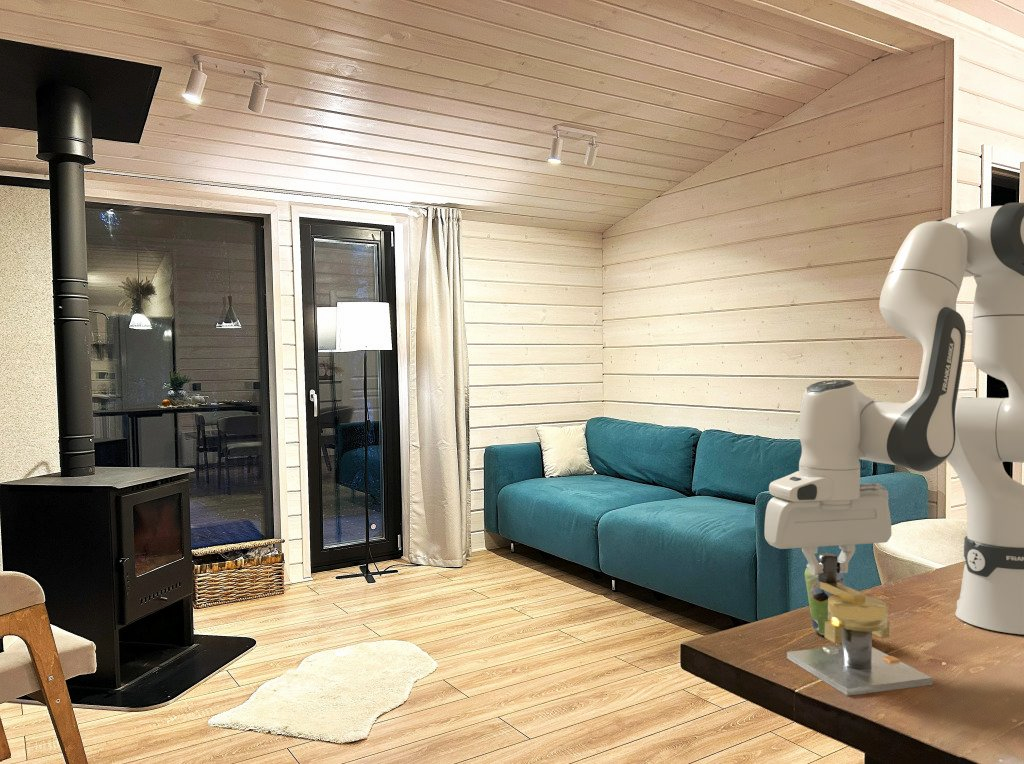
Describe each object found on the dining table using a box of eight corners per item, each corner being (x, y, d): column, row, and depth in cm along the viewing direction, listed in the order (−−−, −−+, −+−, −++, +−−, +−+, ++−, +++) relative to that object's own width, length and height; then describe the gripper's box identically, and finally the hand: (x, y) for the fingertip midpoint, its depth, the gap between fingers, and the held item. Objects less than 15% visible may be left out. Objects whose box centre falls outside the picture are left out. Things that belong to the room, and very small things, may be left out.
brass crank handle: (846, 616, 126) (847, 551, 126) (902, 644, 114) (903, 571, 114) (795, 621, 124) (796, 555, 124) (847, 650, 112) (848, 576, 112)
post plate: (864, 649, 126) (865, 605, 126) (932, 684, 112) (932, 635, 112) (787, 658, 122) (787, 613, 122) (847, 695, 109) (847, 645, 109)
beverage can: (854, 641, 130) (855, 568, 129) (807, 638, 131) (807, 566, 131) (846, 628, 136) (847, 558, 135) (801, 625, 137) (801, 556, 137)
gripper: (874, 479, 129) (873, 564, 129) (759, 484, 124) (758, 571, 125) (901, 485, 122) (900, 574, 123) (781, 490, 118) (780, 583, 119)
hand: (828, 573), depth 124 cm, fingers open, 3 cm apart
